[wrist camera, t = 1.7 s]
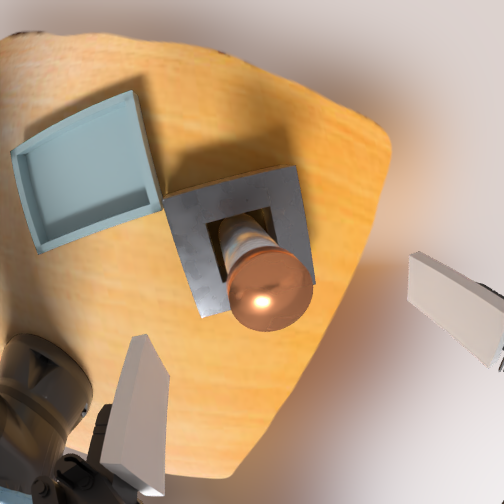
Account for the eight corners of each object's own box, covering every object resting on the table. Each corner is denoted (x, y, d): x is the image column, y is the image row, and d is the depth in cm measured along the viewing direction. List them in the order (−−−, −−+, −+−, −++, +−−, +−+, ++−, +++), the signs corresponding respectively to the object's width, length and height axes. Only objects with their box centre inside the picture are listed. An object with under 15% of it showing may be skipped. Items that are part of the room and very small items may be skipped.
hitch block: (200, 297, 28) (201, 318, 24) (167, 194, 24) (161, 199, 20) (301, 268, 29) (315, 284, 25) (281, 164, 25) (295, 165, 21)
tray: (49, 247, 23) (38, 254, 21) (23, 150, 19) (10, 151, 17) (165, 205, 24) (161, 210, 22) (138, 96, 21) (131, 89, 18)
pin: (222, 261, 27) (241, 341, 15) (209, 217, 26) (218, 269, 13) (266, 248, 28) (317, 317, 15) (256, 204, 26) (306, 244, 14)
